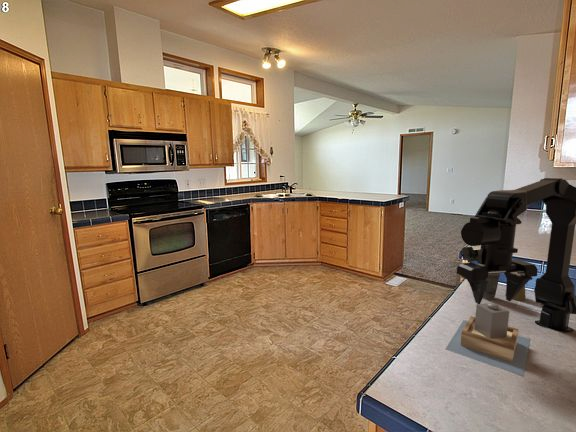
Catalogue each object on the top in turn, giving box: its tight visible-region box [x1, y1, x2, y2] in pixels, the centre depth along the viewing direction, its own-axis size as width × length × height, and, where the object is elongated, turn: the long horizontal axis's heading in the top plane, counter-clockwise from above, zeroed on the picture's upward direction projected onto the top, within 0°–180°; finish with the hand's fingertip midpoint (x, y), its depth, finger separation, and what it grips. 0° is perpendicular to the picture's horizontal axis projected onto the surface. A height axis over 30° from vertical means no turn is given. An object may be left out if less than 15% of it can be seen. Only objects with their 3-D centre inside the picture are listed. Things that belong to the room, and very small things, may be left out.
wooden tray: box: [460, 316, 519, 362], centre depth 81 cm, size 11×11×4 cm
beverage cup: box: [477, 263, 502, 301], centre depth 111 cm, size 7×7×20 cm
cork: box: [504, 284, 527, 302], centre depth 112 cm, size 6×6×11 cm
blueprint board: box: [445, 319, 531, 377], centre depth 82 cm, size 20×16×1 cm
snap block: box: [474, 302, 510, 339], centre depth 81 cm, size 5×5×8 cm
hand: (493, 301), depth 80 cm, fingers open, 9 cm apart
